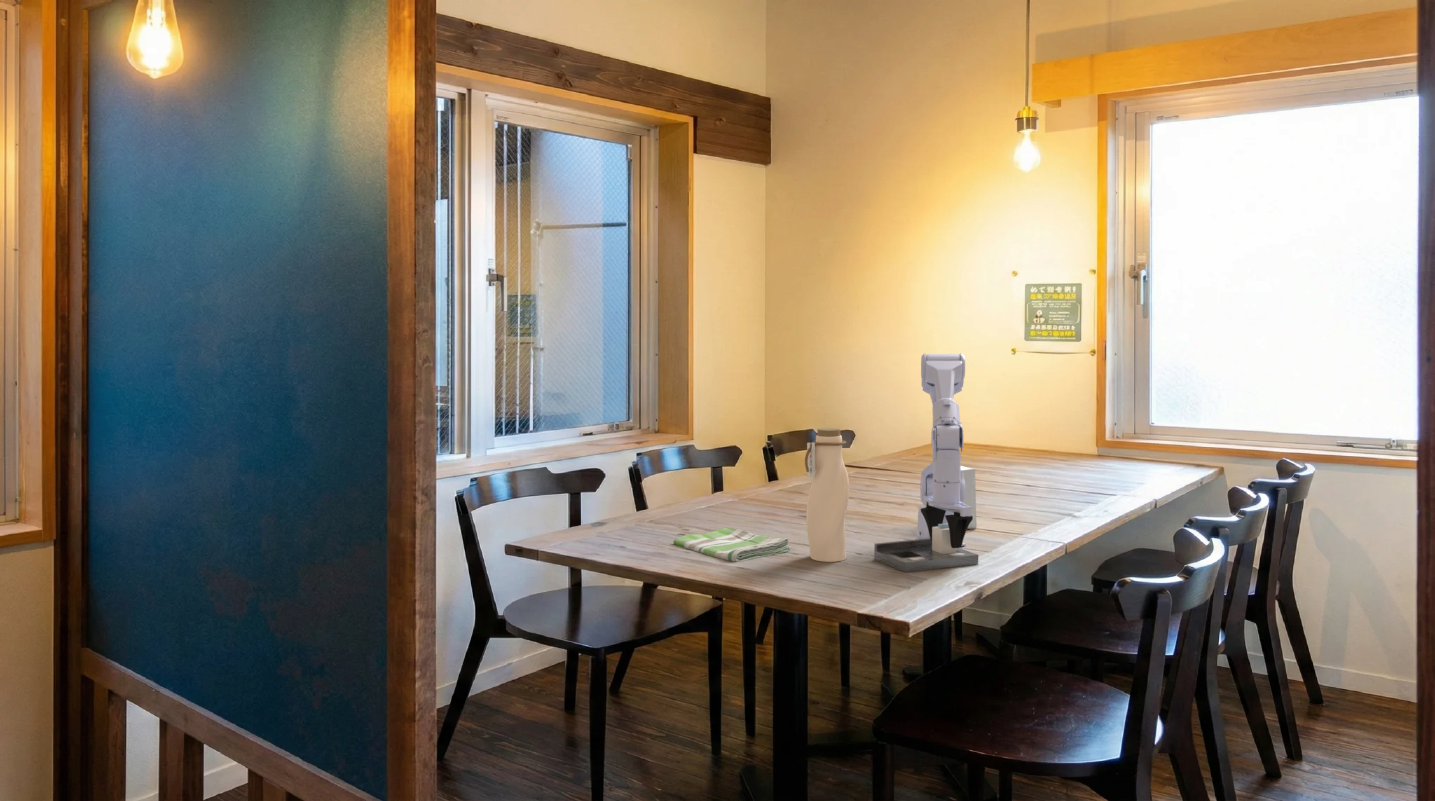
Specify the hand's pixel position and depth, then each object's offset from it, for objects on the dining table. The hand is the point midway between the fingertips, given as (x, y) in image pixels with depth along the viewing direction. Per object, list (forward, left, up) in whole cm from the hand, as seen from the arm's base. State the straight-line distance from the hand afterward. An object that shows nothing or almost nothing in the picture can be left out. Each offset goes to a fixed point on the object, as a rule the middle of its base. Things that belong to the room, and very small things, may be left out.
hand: (945, 543), depth 214 cm
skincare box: (-29, +24, -4) cm, 38 cm away
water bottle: (-11, -23, -4) cm, 26 cm away
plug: (0, -1, -3) cm, 4 cm away
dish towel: (-29, -38, -4) cm, 48 cm away
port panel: (0, -5, -3) cm, 6 cm away
